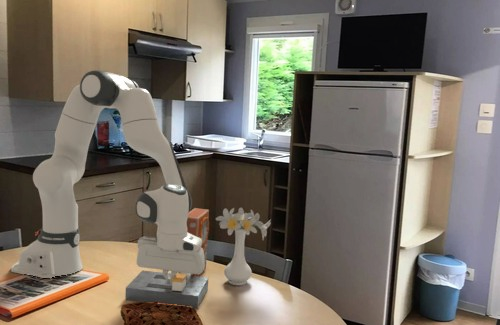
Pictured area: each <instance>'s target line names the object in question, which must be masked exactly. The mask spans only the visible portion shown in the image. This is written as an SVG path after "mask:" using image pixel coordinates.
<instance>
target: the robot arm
mask: <svg viewBox="0 0 500 325" xmlns="http://www.w3.org/2000/svg"><path fill="white" fill-rule="evenodd" d="M155 106H156V105H155V103H154V100H153V98H152V95H151V93H150V92H149V91H148V90H147V89H146V88H141V87H139V85H138V83H137V82H136V81H134V80H133V79H131V78H130V77H126V76H124V75H121V74H118V73H115V72H106V71H104V70H99V69H96V70H91V71H87V72H86V73H84V75H83V76H82V78H81V80H80V82H79V84H77V85H76V86H74V87H73V89H72V90H71V92H70V94H69V96H68V98H67V100H66V102H65V104H64V106H63V108H62V112H61V114H60V117H59V120H58V124H57V126H56V129H55V132H54V139H55V142H54V148H53V149H54V150H53V152H52V156H51V157H50V158H47V159H45V160H43V161H41V162H40V163H39V165H38V166H37V167H36V168H35V169H34V170H33V173H32V181H33V184H34V186H35V187H36V188H37V189H38V193H39V197H40V202H41V208H42V228H40V229H38V231H35V235H34V236H35V237H36V236H38V237H37V239H36V240H34V241H32V242H31V243H30V244H28V245H27V246H26V247H25V248H24V249H23V250H21V252H20V254H19V258H18V261H16V262H15V263H14V264H12V266H11V270H10V272H12V273H15V274H19V275H24V274H29V275H34V276H38V277H42V278H50V279H53V278H52V277H54V278H56V277H55V276H60V277H62V276H61V275H66V276H68V275H67V274H71V273H74V274H76V273H75V272H77V271H79V272H80V271H81V270H82V269H83V268H84V267H83V263H82V259H81V255H80V254H81V253H80V246H79V245H80V227H79V205H78V203H77V201H76V197H75V192H74V185H75V184H76V183H78V182H79V181H80V180H81V179H82V177H83V176H84V173H85V170H86V162H87V156H88V151H89V147H90V144H91V140H92V137H93V134H94V131H95V129H96V126H97V123H98V120H99V116H100V114H101V112H102V111H103V110H104V109H111V110H117V111H118V113H119V115H120V119H121V120H120V121H121V127H122V132H123V134H122V135H123V137H124V140H125V142H126V144H127V145H128V146H129V147H130V148H131V149H133V151H135V152H138V153H139V154H143V155H146V156H147V157H151V158H152V159H154V160H155V161H156V163H158V164H159V166H160V170H161V171H162V174H163V178H164V181H165V184H163V185H162V186H160V187H159V188H157V189H155V190H148V191H145V192H142V193H140V194H139V196H137V199H136V202H135V214H136V215H137V218H139V219H140V221H142V222H143V223H147V224H156V225H157V229H156V237H155V236H147V235H143V236H142V237H139V239H138V240H137V248H138V249H137V250H138V251H137V255H136V265H137V266H138V267H139V268H146V269H153V270H160V271H161V270H162V272H161V273H163V275H164V277H165V279H166V284H171V285H172V279H173V277H174V276H175V275H176V274H177V273H178V272H183V273H191V274H199V275H201V274H202V273H203V272H204V270H205V269H204V266H205V258H204V251H203V249H202V248H201V245H202V239H201V238H199V237H196V236H194V235H192V234H190V233H188V232H187V219H188V213H189V212H190V211H192V210H191V209H192V206H193V198H192V196H191V193H190V192H189V190H188V187H187V186H186V185H187V184H186V183H185V181H184V177H183V174H182V171H181V167H180V164H179V162H178V159H177V155H176V152H175V148H173V145H172V143H171V142H170V140H168V138H166V136H165V135H164V133H163V132H162V129H161V127H160V123H159V118H158V113H157V109H156V107H155ZM169 272H170V274H173V275H172V277H170V276H169V274H168V273H169ZM77 273H78V272H77ZM71 275H72V274H71ZM42 278H41V279H42Z"/></svg>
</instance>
